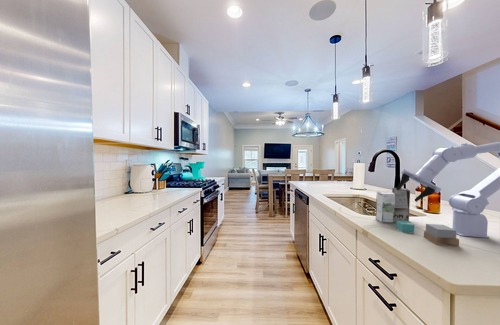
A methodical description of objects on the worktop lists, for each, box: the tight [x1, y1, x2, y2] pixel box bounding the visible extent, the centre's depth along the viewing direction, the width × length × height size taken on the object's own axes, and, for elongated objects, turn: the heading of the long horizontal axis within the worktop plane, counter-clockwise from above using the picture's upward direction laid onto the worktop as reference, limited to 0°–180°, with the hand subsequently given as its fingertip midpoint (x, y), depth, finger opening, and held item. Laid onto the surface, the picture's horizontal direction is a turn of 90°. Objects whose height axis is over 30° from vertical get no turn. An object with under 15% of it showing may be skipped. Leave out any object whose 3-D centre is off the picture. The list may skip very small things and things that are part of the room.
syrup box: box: [375, 191, 395, 224], centre depth 99 cm, size 6×6×14 cm
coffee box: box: [391, 187, 411, 224], centre depth 100 cm, size 9×6×16 cm
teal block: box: [396, 221, 415, 234], centre depth 87 cm, size 4×4×4 cm
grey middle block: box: [425, 223, 457, 239], centre depth 76 cm, size 6×6×3 cm
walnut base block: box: [423, 230, 460, 247], centre depth 76 cm, size 7×7×3 cm
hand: (406, 195), depth 87 cm, fingers open, 7 cm apart
